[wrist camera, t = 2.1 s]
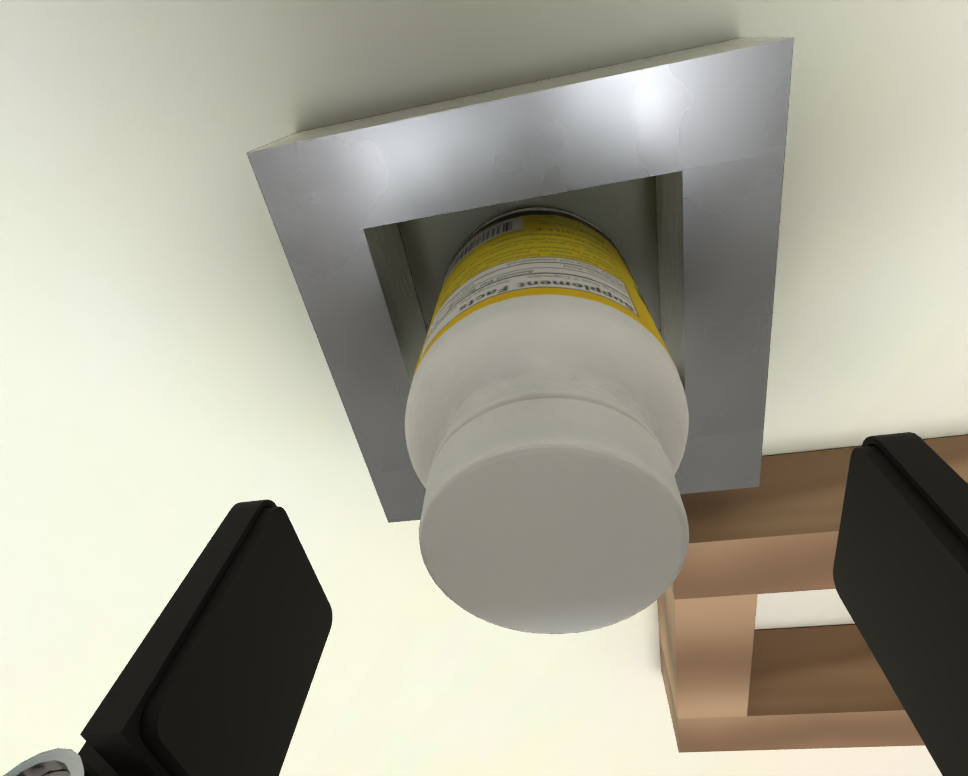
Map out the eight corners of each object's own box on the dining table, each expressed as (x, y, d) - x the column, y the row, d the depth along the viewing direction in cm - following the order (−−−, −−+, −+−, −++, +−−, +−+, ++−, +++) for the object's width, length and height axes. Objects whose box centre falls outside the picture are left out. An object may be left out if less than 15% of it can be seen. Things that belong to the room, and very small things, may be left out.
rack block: (650, 468, 20) (673, 544, 17) (1040, 427, 18) (1142, 505, 15) (661, 670, 26) (678, 752, 23) (952, 655, 24) (1012, 742, 21)
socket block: (295, 132, 15) (246, 153, 12) (741, 37, 13) (793, 37, 10) (405, 461, 20) (388, 522, 18) (727, 424, 19) (759, 486, 16)
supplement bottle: (600, 388, 18) (663, 685, 10) (433, 357, 18) (354, 634, 10) (656, 222, 15) (813, 444, 7) (459, 183, 15) (377, 363, 7)
